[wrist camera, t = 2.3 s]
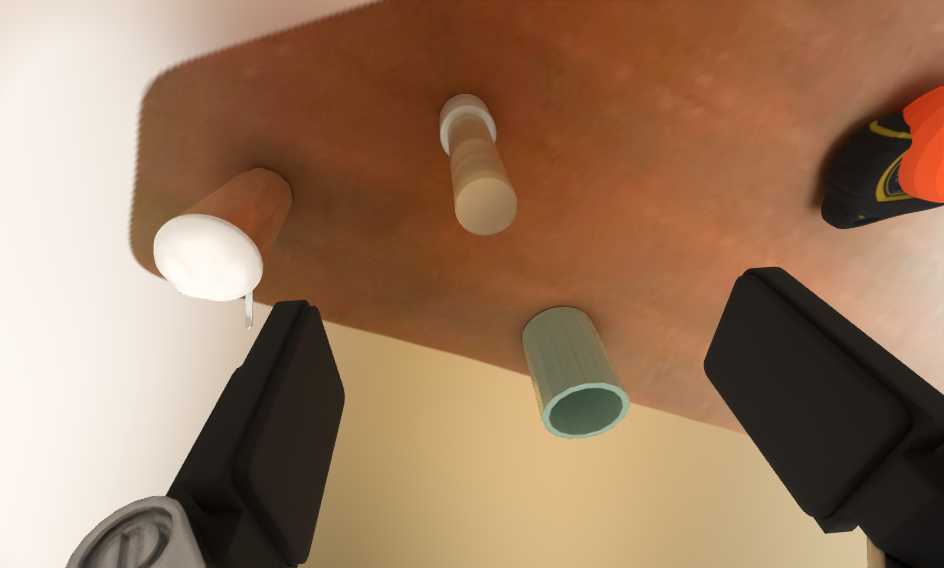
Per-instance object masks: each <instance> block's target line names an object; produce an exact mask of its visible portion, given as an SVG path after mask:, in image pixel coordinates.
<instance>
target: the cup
mask: <svg viewBox="0 0 944 568" xmlns="http://www.w3.org/2000/svg"><path fill="white" fill-rule="evenodd" d="M522 342H523V348H524V352H525V356H526V360H527V364H528V368H529V372H530V375H531V379H532V383H533V387H534V391H535V395H536V399H537V403H538V407H539V411H540V414H541V418H542V421H543V424H544V426H545V428H546V429H547V430H548V431H550V432H551V433H552V434H554V435H555V436H558V437H562V438H567V439H584V438H588V437H592V436H596V435H600V434H602V433H604V432H606V431H608V430H610V429H612V428H613V427H615V426H616V425H617V424H618V423H619V422H620V421H621V420H622V419H624V417H625V416H626V414H627V412H628V409H629V407H630V403H629V398H628V394H627V392H626V390H625V388H624V386H623V384H622V382H621V380H620V378H619V376H618V374H617V372H616V370H615V368H614V365H613V363H612V361H611V359H610V357H609V355H608V353H607V351H606V349H605V347H604V345H603V343H602V341H601V339H600V337H599V335H598V333H597V330H596V328H595V326H594V324H593V323H592V322H591V320H590V318H589V317H588V315H587V314H585V313H584V312H583V311H581V310H579V309H576V308H573V307H555V308H551V309H548V310H545V311H543V312H541V313H539V314H537V315H536V316H535V317H533V318H532V319H531V320H530V321H529V322H528V324H527V325H526V327H525V329H524V331H523V335H522Z"/></svg>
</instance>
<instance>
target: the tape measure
mask: <svg viewBox="0 0 944 568" xmlns="http://www.w3.org/2000/svg"><path fill="white" fill-rule="evenodd" d="M903 113H904V111H903V112H901V111H900V112H896V113H892V114H889V115H887V116H884V117H882V118H880V119H878V120H876V121H874V122H873V123H871V124H869V125H867V126H865V127H863V128H861V129H860V130H859V131H858V132H857V133H856V134H855V135H854V136H852V137H851V138H850V139H849V140H847V142H846V143H845V144H844V145H843V146H842V147H841V148H840V150H839V151H838V152H837V153H836V155H835V158H834V159H833V160H832V161H831V163H830V165H829V168H828V170H827V173H826V178H827V179H826V181H825V196H824V200H823V203H822V207H821V212H822V213H821V214H822V217H823V219H824V220H825V221H826V222H827V223H829V224H830V225H832V226H834V227H836V228H839V229H849V228H855V227H860V226H864V225H867V224H871V223H874V222H878V221H881V220H884V219H888V218H891V217H895V216H899V215H903V214H908V213H913V212H918V211H923V210H928V209H932V208H936V207H940V206H943V205H944V203H938V202H932V201H927V200H923V199H919V198H916V197H912V196H910V195H908V194H907V193H905V192H904V191H903V190H902V188H901V186H900V184H899V182H898V181H899V168H900V165H901V161H902V158H903V156H904V155H905V154H906V152H907V151H908V150H909V149H910V147H911V145H912V142H913V141H912V134H911V132H910V129H911V127H910V126H909V125H908V124H906V122H905V120H904V116H903Z"/></svg>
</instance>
